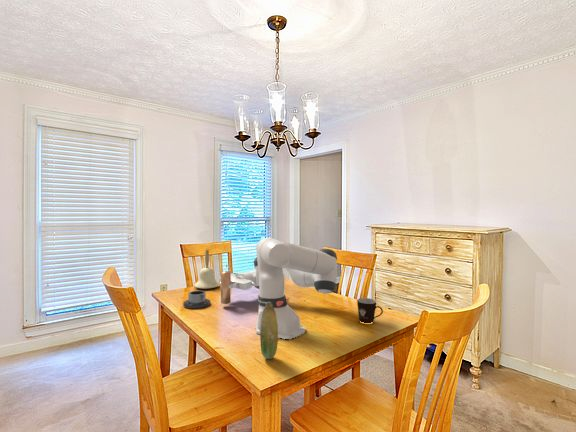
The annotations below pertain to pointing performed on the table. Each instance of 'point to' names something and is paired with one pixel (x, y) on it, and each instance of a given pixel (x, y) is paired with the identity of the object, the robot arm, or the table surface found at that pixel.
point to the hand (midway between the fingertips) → (224, 285)
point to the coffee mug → (367, 309)
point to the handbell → (206, 275)
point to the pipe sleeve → (196, 300)
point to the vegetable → (269, 331)
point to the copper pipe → (225, 287)
